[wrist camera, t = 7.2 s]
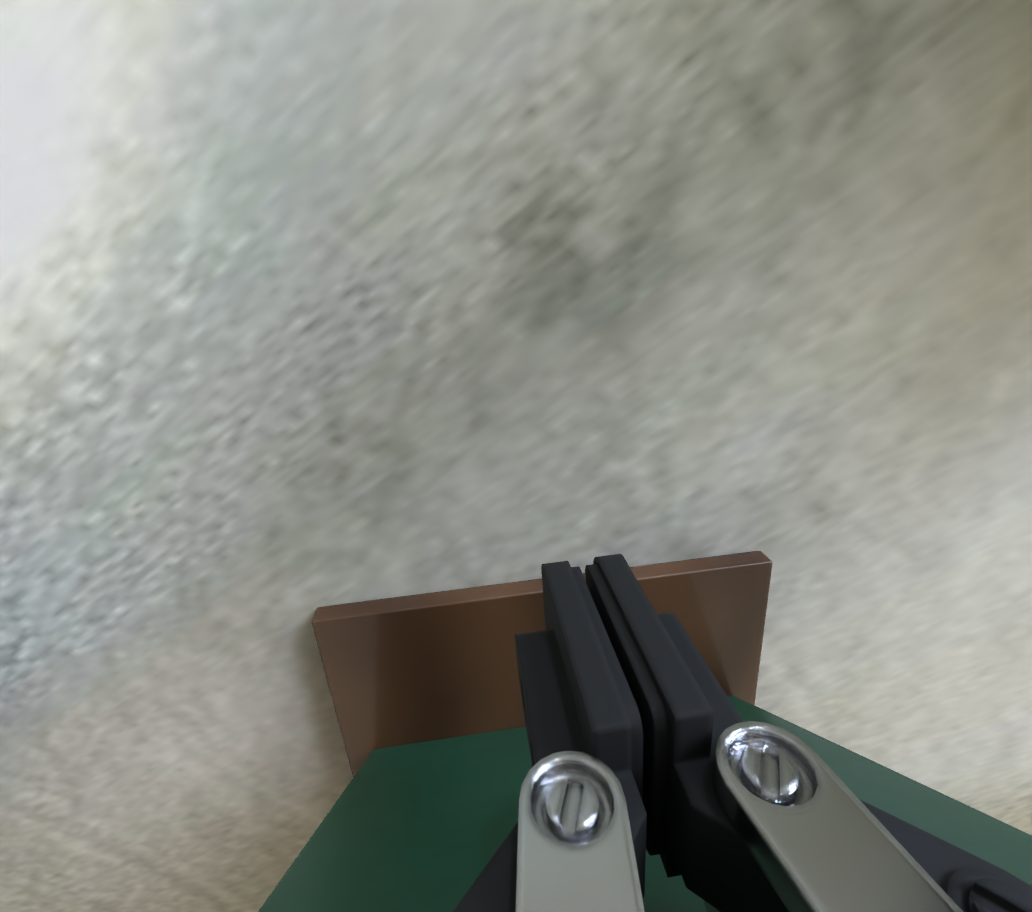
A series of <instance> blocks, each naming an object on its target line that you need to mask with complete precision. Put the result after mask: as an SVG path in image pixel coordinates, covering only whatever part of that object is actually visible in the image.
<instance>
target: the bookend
mask: <svg viewBox="0 0 1032 912" xmlns="http://www.w3.org/2000/svg"><path fill="white" fill-rule="evenodd" d="M630 569H631V571H632V572H633V574H634V576H635V577H636V579H637V581H638V583H639V584H640V586H641V588H642V589H643V591H644V593H645V595H646V596H647V598H648V600H649V601H650V603H651V605H652V606H653V608H654V610H655V612H656V613H657V614H661V613H668V612H671V613H673V614H674V615H675V616H676V617H677V618H678V620H679V621H680V623H681V624H682V626H683V627H684V629H685V630H686V632H687V634H688V635H689V637H690V638H691V640H692V641H693V643H694V645H695V646H696V648H697V649H698V651H699V652H700V654H701V656H702V657H703V659H704V660H705V662H706V663H707V665H708V667H709V668H710V670H711V671H712V673H713V674H714V676H715V677H716V679H717V681H718V682H719V684H720V685H721V687H722V688H723V690H724V692H725V693H726V695H727V696H731V695H733V696H735V697H737V698H739V699H741V700H744V701H746V702H748V703H750V704H752V705H754V704H755V696H756V688H757V680H758V672H759V664H760V656H761V648H762V640H763V633H764V625H765V617H766V609H767V601H768V593H769V585H770V577H771V569H772V561H771V560H770V559H769V558H768V557H767V556H766V555H764V554H763V553H762V552H761V551H754V552H746V553H738V554H731V555H723V556H715V557H707V558H699V559H692V560H684V561H676V562H668V563H660V564H653V565H645V566H637V567H630ZM582 574H583V577H584V579H585V573H582ZM585 582H586V579H585ZM312 626H313V629H314V633H315V637H316V640H317V644H318V648H319V651H320V655H321V659H322V663H323V666H324V670H325V674H326V677H327V681H328V685H329V688H330V692H331V696H332V699H333V703H334V707H335V710H336V714H337V718H338V721H339V725H340V729H341V732H342V736H343V740H344V744H345V747H346V751H347V755H348V758H349V762H350V766H351V769H352V773H353V777H355V775H356V774H357V772H358V771H359V769H360V768H361V767H362V765H363V764H364V762H365V761H366V760H367V758H368V757H369V755H370V754H371V753H372V751H373V750H374V749H380V748H386V747H393V746H400V745H406V744H413V743H419V742H426V741H433V740H439V739H446V738H453V737H459V736H466V735H473V734H479V733H486V732H492V731H499V730H506V729H512V728H519V727H526V724H525V717H524V711H523V704H522V697H521V689H520V681H519V673H518V664H517V654H516V644H515V634H522V633H529V632H536V631H543V630H546V627H545V613H544V598H543V584H542V579H536V580H528V581H520V582H512V583H504V584H497V585H489V586H481V587H473V588H466V589H458V590H450V591H442V592H434V593H427V594H419V595H411V596H403V597H395V598H388V599H380V600H372V601H364V602H356V603H349V604H341V605H333V606H325V607H319V608H317V610H316V612H315V615H314V617H313V619H312Z"/></svg>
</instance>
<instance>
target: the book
mask: <svg viewBox="0 0 1032 912" xmlns="http://www.w3.org/2000/svg"><path fill="white" fill-rule="evenodd" d="M728 698H729V699H730V701H731V703H732V704H733V706H734V707H735V709H736V710H737V712H738V714H739V715H740V717H741V718H742V720H743V721H744V722H747V721H755V722H764V723H769V724H772V725H775V726H777V727H780V728H783V729H785V730H787V731H788V732H790V733H792V734H794V735H795V736H797V737H799V738H800V739H801V740H802V741H804V742H805V743H806V744H807V745H808V746H809V747H810V748H812V749H813V750H814V751H815V752H816V753H817V755H818V756H819V757H820V758H821V759H822V760H823V761H824V762H825V763H826V764H827V765H828V766H829V768H830V769H831V770H832V771H833V772H834V773H835V774H836V775H837V776H838V777H839V778H840V779H841V780H842V782H843V783H844V784H845V785H846V786H847V787H848V788H849V789H850V790H851V791H852V792H853V793H854V794H855V796H856V797H857V798H858V799H860V800H862V801H864V802H866V803H868V804H870V805H872V806H874V807H876V808H878V809H881V810H883V811H885V812H887V813H889V814H891V815H893V816H895V817H897V818H899V819H901V820H903V821H905V822H907V823H909V824H911V825H913V826H915V827H917V828H919V829H922V830H924V831H926V832H928V833H930V834H932V835H934V836H936V837H938V838H940V839H942V840H944V841H946V842H948V843H950V844H952V845H954V846H956V847H958V848H960V849H962V850H965V851H967V852H969V853H971V854H973V855H975V856H977V857H979V858H981V859H983V860H985V861H987V862H989V863H991V864H993V865H995V866H997V867H999V868H1001V869H1003V870H1005V871H1007V872H1009V873H1010V874H1012V875H1014V876H1015V877H1017V878H1019V879H1020V880H1022V881H1024V882H1025V883H1027V884H1029V885H1032V835H1029V834H1027V833H1025V832H1023V831H1021V830H1019V829H1017V828H1014V827H1012V826H1010V825H1008V824H1006V823H1004V822H1002V821H1000V820H997V819H995V818H993V817H991V816H989V815H987V814H985V813H982V812H980V811H978V810H976V809H974V808H972V807H970V806H968V805H965V804H963V803H961V802H959V801H957V800H955V799H953V798H950V797H948V796H946V795H944V794H942V793H940V792H938V791H936V790H933V789H931V788H929V787H927V786H925V785H923V784H921V783H919V782H916V781H914V780H912V779H910V778H908V777H906V776H904V775H901V774H899V773H897V772H895V771H893V770H891V769H889V768H887V767H884V766H882V765H880V764H878V763H876V762H874V761H872V760H869V759H867V758H865V757H863V756H861V755H859V754H857V753H855V752H852V751H850V750H848V749H846V748H844V747H842V746H840V745H837V744H835V743H833V742H831V741H829V740H827V739H825V738H823V737H820V736H818V735H816V734H814V733H812V732H810V731H808V730H805V729H803V728H801V727H799V726H797V725H795V724H793V723H791V722H788V721H786V720H784V719H782V718H780V717H778V716H776V715H773V714H771V713H769V712H767V711H765V710H763V709H761V708H759V707H756V706H754V705H752V704H750V703H748V702H746V701H744V700H741V699H739V698H737V697H735V696H733V695H731V696H728ZM531 768H532V763H531V756H530V750H529V743H528V737H527V730H526V727H519V728H512V729H506V730H499V731H492V732H486V733H479V734H473V735H466V736H459V737H453V738H446V739H439V740H433V741H426V742H419V743H413V744H406V745H400V746H393V747H386V748H380V749H374V750H373V751H372V753H371V754H370V755H369V757H368V758H367V760H366V761H365V762H364V764H363V765H362V767H361V768H360V769H359V771H358V772H357V774H356V775H355V777H354V778H353V779H352V781H351V782H350V784H349V785H348V786H347V788H346V789H345V791H344V792H343V793H342V795H341V796H340V798H339V799H338V800H337V802H336V803H335V805H334V806H333V807H332V809H331V810H330V812H329V813H328V814H327V816H326V817H325V819H324V820H323V822H322V823H321V824H320V826H319V827H318V829H317V830H316V831H315V833H314V834H313V836H312V837H311V838H310V840H309V841H308V843H307V844H306V845H305V847H304V848H303V850H302V851H301V852H300V854H299V855H298V857H297V858H296V859H295V861H294V862H293V864H292V865H291V867H290V868H289V869H288V871H287V872H286V874H285V875H284V876H283V878H282V879H281V881H280V882H279V883H278V885H277V886H276V888H275V889H274V890H273V892H272V893H271V895H270V896H269V897H268V899H267V900H266V902H265V903H264V904H263V906H262V907H261V909H260V910H259V912H453V911H454V909H455V908H456V907H457V905H458V904H459V902H460V901H461V900H462V898H463V897H464V895H465V894H466V893H467V891H468V890H469V889H470V887H471V886H472V884H473V883H474V882H475V880H476V879H477V877H478V876H479V875H480V873H481V872H482V870H483V869H484V868H485V866H486V865H487V864H488V862H489V861H490V859H491V858H492V857H493V855H494V854H495V852H496V851H497V850H498V848H499V847H500V846H501V844H502V843H503V841H504V840H505V839H506V837H507V836H508V834H509V833H510V832H511V830H512V829H513V828H514V826H515V825H516V823H517V822H518V814H519V797H520V792H521V786H522V783H523V781H524V779H525V777H526V776H527V774H528V772H529V770H530V769H531ZM643 905H644V910H645V912H707V910H706V907H705V904H704V900H703V899H702V898H700V897H699V896H697V895H696V894H694V893H693V892H692V891H690V890H689V889H687V888H686V886H685V883H684V881H683V878H682V875H680V876H675V877H669V878H667V875H666V872H665V869H664V866H663V863H662V860H661V857H660V855H659V854H658V855H653V856H650V855H649V854H648V852H647V849H646V861H645V896H644V898H643Z"/></svg>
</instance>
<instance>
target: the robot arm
mask: <svg viewBox="0 0 1032 912" xmlns="http://www.w3.org/2000/svg"><path fill="white" fill-rule="evenodd" d="M585 579H586V582H585ZM585 579H584V577H583V574H582V572H581V570H580V568H579V567H570V564H569V562H568V561H563V562H555V563H548V564H542V584H543V598H544V613H545V627H546V630H543V631H536V632H529V633H522V634H515V644H516V654H517V664H518V673H519V681H520V689H521V697H522V704H523V711H524V717H525V724H526V730H527V737H528V743H529V750H530V756H531V763H532V768H531V769H530V770H529V772H528V774H527V776H526V777H525V779H524V781H523V783H522V786H521V792H520V797H519V814H518V822H517V823H516V825H515V826H514V828H513V829H512V830H511V832H510V833H509V834H508V836H507V837H506V839H505V840H504V841H503V843H502V844H501V846H500V847H499V848H498V850H497V851H496V852H495V854H494V855H493V857H492V858H491V859H490V861H489V862H488V864H487V865H486V866H485V868H484V869H483V870H482V872H481V873H480V875H479V876H478V877H477V879H476V880H475V882H474V883H473V884H472V886H471V887H470V889H469V890H468V891H467V893H466V894H465V895H464V897H463V898H462V900H461V901H460V902H459V904H458V905H457V907H456V908H455V909H454V911H453V912H645V910H644V905H643V898H644V896H645V861H646V849H647V852H648V854H649V855H650V856H653V855H658V854H659V855H660V857H661V860H662V863H663V866H664V869H665V872H666V875H667V878H669V877H675V876H680V875H682V878H683V881H684V883H685V886H686V888H687V889H689V890H690V891H692V892H693V893H694V894H696V895H697V896H699V897H700V898H702V899H703V900H704V904H705V907H706V910H707V912H1032V885H1029V884H1027V883H1025V882H1024V881H1022V880H1020V879H1019V878H1017V877H1015V876H1014V875H1012V874H1010V873H1009V872H1007V871H1005V870H1003V869H1001V868H999V867H997V866H995V865H993V864H991V863H989V862H987V861H985V860H983V859H981V858H979V857H977V856H975V855H973V854H971V853H969V852H967V851H965V850H962V849H960V848H958V847H956V846H954V845H952V844H950V843H948V842H946V841H944V840H942V839H940V838H938V837H936V836H934V835H932V834H930V833H928V832H926V831H924V830H922V829H919V828H917V827H915V826H913V825H911V824H909V823H907V822H905V821H903V820H901V819H899V818H897V817H895V816H893V815H891V814H889V813H887V812H885V811H883V810H881V809H878V808H876V807H874V806H872V805H870V804H868V803H866V802H864V801H862V800H860V799H858V798H857V797H856V796H855V794H854V793H853V792H852V791H851V790H850V789H849V788H848V787H847V786H846V785H845V784H844V783H843V782H842V780H841V779H840V778H839V777H838V776H837V775H836V774H835V773H834V772H833V771H832V770H831V769H830V768H829V766H828V765H827V764H826V763H825V762H824V761H823V760H822V759H821V758H820V757H819V756H818V755H817V753H816V752H815V751H814V750H813V749H812V748H810V747H809V746H808V745H807V744H806V743H805V742H804V741H802V740H801V739H800V738H799V737H797V736H795V735H794V734H792V733H790V732H788V731H787V730H785V729H783V728H780V727H777V726H775V725H772V724H769V723H764V722H755V721H747V722H744V721H743V720H742V718H741V717H740V715H739V714H738V712H737V710H736V709H735V707H734V706H733V704H732V703H731V701H730V699H729V698H728V696H727V695H726V693H725V692H724V690H723V688H722V687H721V685H720V684H719V682H718V681H717V679H716V677H715V676H714V674H713V673H712V671H711V670H710V668H709V667H708V665H707V663H706V662H705V660H704V659H703V657H702V656H701V654H700V652H699V651H698V649H697V648H696V646H695V645H694V643H693V641H692V640H691V638H690V637H689V635H688V634H687V632H686V630H685V629H684V627H683V626H682V624H681V623H680V621H679V620H678V618H677V617H676V616H675V615H674V614H673V613H671V612H668V613H661V614H657V613H656V612H655V610H654V608H653V606H652V605H651V603H650V601H649V600H648V598H647V596H646V595H645V593H644V591H643V589H642V588H641V586H640V584H639V583H638V581H637V579H636V577H635V576H634V574H633V572H632V571H631V569H630V567H629V565H628V564H627V562H626V560H625V559H624V557H623V556H622V554H616V555H608V556H601V557H595V558H594V562H593V565H586V568H585Z"/></svg>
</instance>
